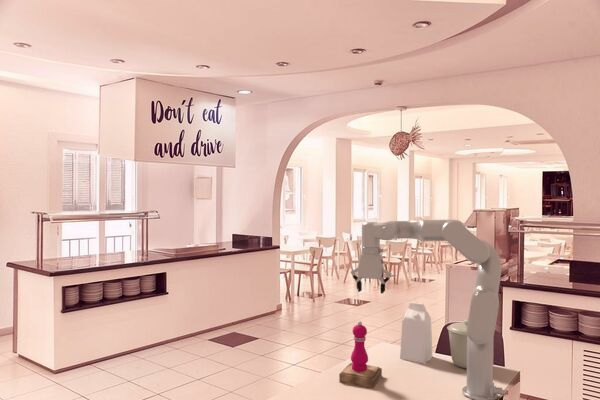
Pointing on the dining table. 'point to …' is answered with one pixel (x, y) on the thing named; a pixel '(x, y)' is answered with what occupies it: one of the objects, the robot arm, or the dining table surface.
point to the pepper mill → (359, 348)
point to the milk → (416, 334)
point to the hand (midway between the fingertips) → (370, 292)
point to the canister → (458, 343)
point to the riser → (361, 376)
